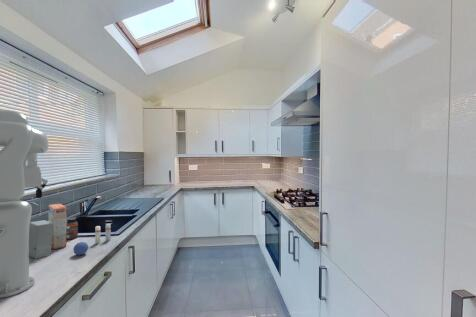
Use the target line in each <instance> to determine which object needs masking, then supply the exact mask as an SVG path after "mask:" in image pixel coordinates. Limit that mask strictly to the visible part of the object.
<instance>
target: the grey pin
mask: <svg viewBox="0 0 476 317" xmlns="http://www.w3.org/2000/svg"><path fill="white" fill-rule="evenodd" d="M111 228H112V227H111V223H107V224H105V242H110V241H111V231H112V230H111Z"/></svg>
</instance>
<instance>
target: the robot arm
mask: <svg viewBox="0 0 476 317" xmlns="http://www.w3.org/2000/svg"><path fill="white" fill-rule="evenodd" d="M0 148H1V149H0V230H2V231H1V232H0V299H4V298H7V297H12V296H15V295H17V294H18V295H19V294H20V293H22V292H25V291H26V290H29V289H30V288H31V287H32V286H33V285H34V284H35V278H34V277H32V276H30V256H29V226H30V222H31V221H32V220H31V219H32V213H33V208H32V204H30V203H29V201H25V200H20V199H22V198H23V197H24V196H25V189H26V188H35V198H37V199H41V198H42V196H43V189H44V188H45V187H46V186H47V184H48V180H47V179H45V178H43V177H42V172H41V168H40V166H38V154H45V153H47V151H48V150H49V140H48V136H47V135H46V133H45V132H42V131H40V130H38V129H35V128H33V127H31V126H30V123H29V121H28V118H27V117H26V116H25V115H24V114H23V113H21V112H18V111H16V110H15V111H14V110H8V109H7V110H6V109H0Z"/></svg>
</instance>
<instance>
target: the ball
mask: <svg viewBox="0 0 476 317" xmlns="http://www.w3.org/2000/svg"><path fill="white" fill-rule="evenodd" d="M88 249H89V245H88V243H87V242H85V241H80V242H77V243H76V244H74V247H73V253H74V254H75V256H83V255H84V254H86V253H87V251H89V250H88Z"/></svg>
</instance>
